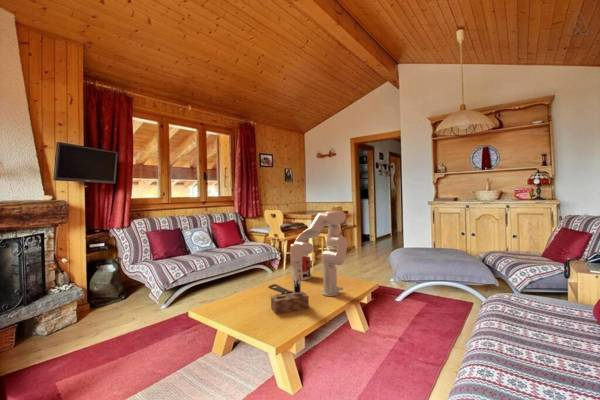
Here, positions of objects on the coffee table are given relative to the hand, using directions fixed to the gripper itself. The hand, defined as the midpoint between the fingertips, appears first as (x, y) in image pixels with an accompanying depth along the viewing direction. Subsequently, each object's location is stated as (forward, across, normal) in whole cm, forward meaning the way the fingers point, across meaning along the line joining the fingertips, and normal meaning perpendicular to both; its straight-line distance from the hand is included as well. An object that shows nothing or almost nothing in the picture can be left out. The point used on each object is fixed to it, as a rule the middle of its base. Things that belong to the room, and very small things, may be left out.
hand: (296, 291), depth 195 cm
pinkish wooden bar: (+6, 0, 0) cm, 6 cm away
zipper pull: (+11, +22, +2) cm, 24 cm away
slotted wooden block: (+11, 0, +5) cm, 12 cm away
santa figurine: (+10, +60, -29) cm, 68 cm away
